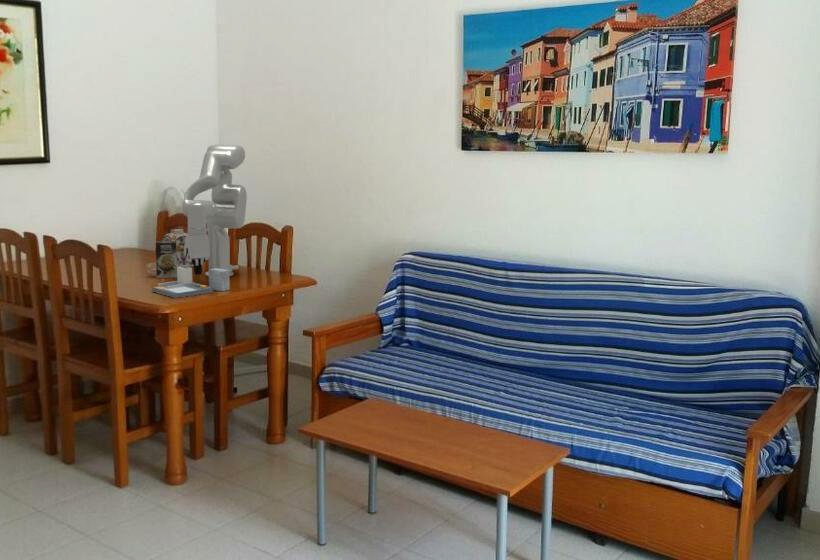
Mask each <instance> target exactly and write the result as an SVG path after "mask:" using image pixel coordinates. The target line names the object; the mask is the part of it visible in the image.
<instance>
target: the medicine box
mask: <svg viewBox="0 0 820 560" xmlns="http://www.w3.org/2000/svg"><path fill="white" fill-rule="evenodd" d="M208 271H209V276H208V287H212V288H213V291H218V292H226V290H227V291H229V290H230V276H229V270H225V269H218V268H214V269H210V270H209V269H208Z"/></svg>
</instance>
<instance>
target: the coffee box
mask: <svg viewBox="0 0 820 560" xmlns="http://www.w3.org/2000/svg"><path fill="white" fill-rule="evenodd" d="M155 269H156V271H155V277H156V279H162V278H163V279H164V278H165V279H167V278H168V279H169V278H173V279H174V278H177V248H176V241H162V240H156V241H155Z"/></svg>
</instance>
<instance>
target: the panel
mask: <svg viewBox="0 0 820 560" xmlns="http://www.w3.org/2000/svg"><path fill="white" fill-rule="evenodd" d="M151 291H152V293H154V292H156V293H155V294H158V293H159V294H158V295H161V294H163V295H162V296H164V295H166V296H165V297H168V296H170V297H169V298H171V297H173V298H172V299H179V298H178V297H182V298H187V297H186V296H188V297H194V295H195V296H200V295H199V294H201V295H206V294H211V293H212V294H213V293H214V290H213V288H212V287H209V285H206V284H201V283H197V282H194V281H192V283H185V284H177V280H175V281H174V280H173V281H168V282H159V283H157V286H152V288H151Z"/></svg>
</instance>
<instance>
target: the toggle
mask: <svg viewBox="0 0 820 560" xmlns="http://www.w3.org/2000/svg"><path fill="white" fill-rule="evenodd" d="M176 281H177V284H185V283H192V282H193V267H188V266H185V265H181V267H177V280H176Z"/></svg>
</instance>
